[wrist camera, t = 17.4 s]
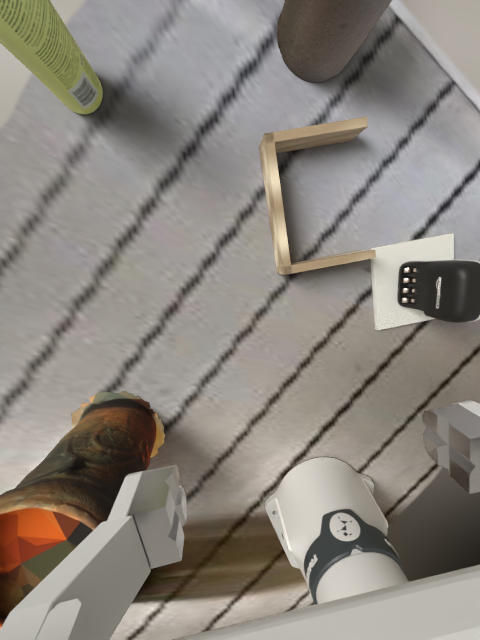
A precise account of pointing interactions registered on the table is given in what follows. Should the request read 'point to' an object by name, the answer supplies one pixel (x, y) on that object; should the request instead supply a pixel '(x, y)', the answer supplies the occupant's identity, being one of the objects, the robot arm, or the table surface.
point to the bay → (268, 150)
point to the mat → (388, 273)
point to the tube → (49, 52)
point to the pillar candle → (324, 34)
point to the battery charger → (441, 288)
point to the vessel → (72, 490)
